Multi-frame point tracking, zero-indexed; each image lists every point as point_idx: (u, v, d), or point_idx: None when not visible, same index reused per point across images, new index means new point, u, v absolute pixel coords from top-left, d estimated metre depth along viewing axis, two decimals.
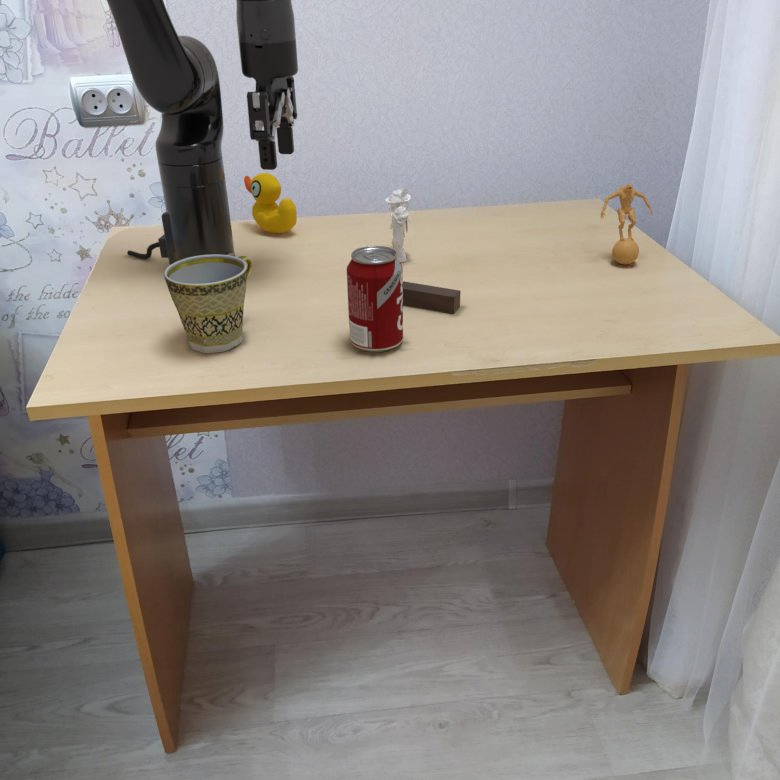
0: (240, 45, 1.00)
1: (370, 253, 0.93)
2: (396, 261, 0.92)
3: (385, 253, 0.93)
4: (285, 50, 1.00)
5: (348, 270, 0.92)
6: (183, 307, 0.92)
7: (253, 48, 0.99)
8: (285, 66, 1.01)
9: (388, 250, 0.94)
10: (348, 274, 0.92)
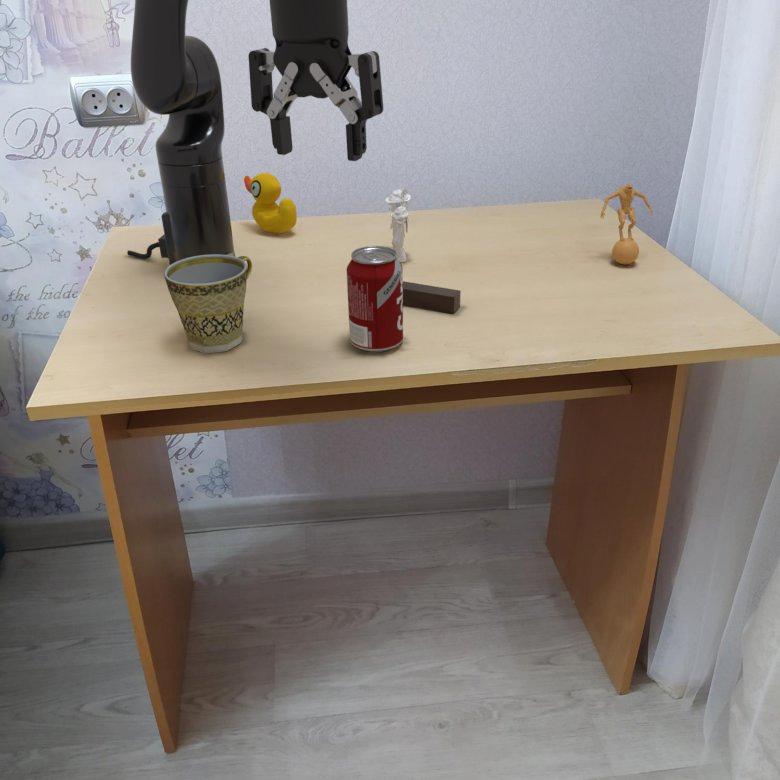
0: None
1: (370, 253, 0.93)
2: (396, 261, 0.92)
3: (385, 253, 0.93)
4: None
5: (348, 270, 0.92)
6: (183, 307, 0.92)
7: None
8: None
9: (388, 250, 0.94)
10: (348, 274, 0.92)
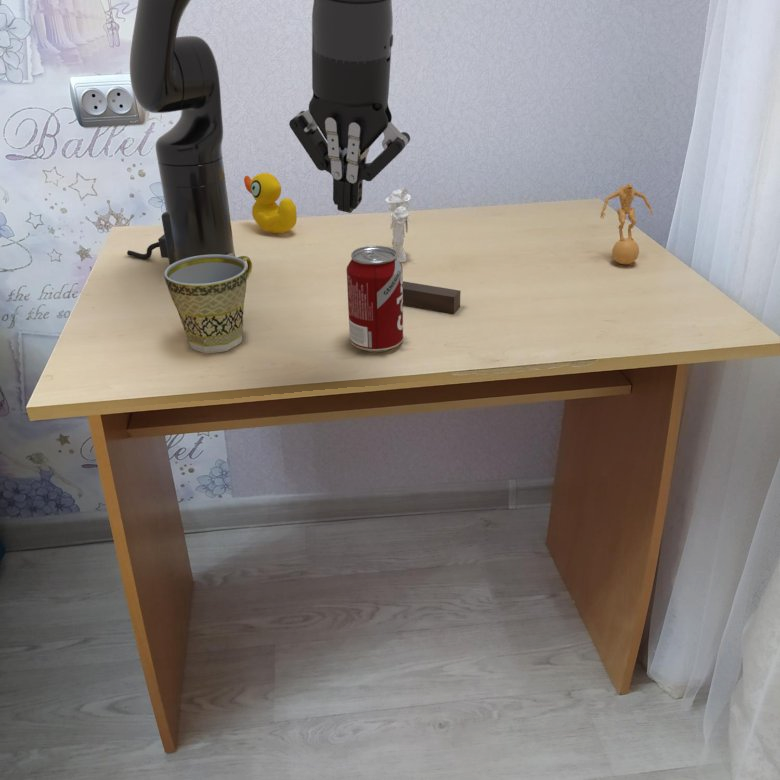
0: (361, 66, 0.71)
1: (370, 253, 0.93)
2: (396, 261, 0.92)
3: (385, 253, 0.93)
4: None
5: (348, 270, 0.92)
6: (183, 307, 0.92)
7: (384, 63, 0.72)
8: None
9: (388, 250, 0.94)
10: (348, 274, 0.92)
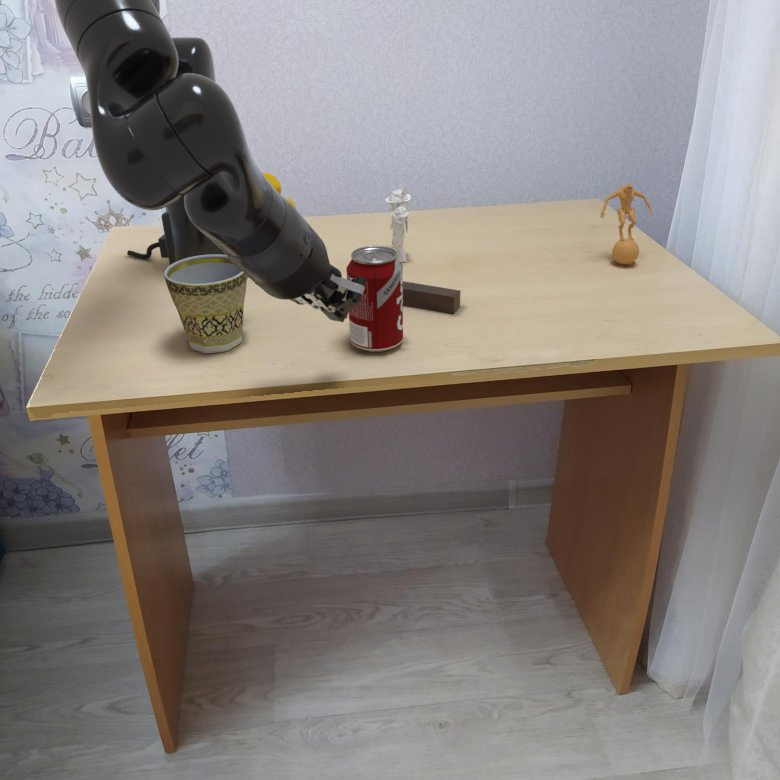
0: (286, 280, 0.70)
1: (370, 253, 0.93)
2: (396, 261, 0.92)
3: (385, 253, 0.93)
4: None
5: (348, 270, 0.92)
6: (183, 307, 0.92)
7: (308, 261, 0.71)
8: None
9: (388, 250, 0.94)
10: (348, 274, 0.92)
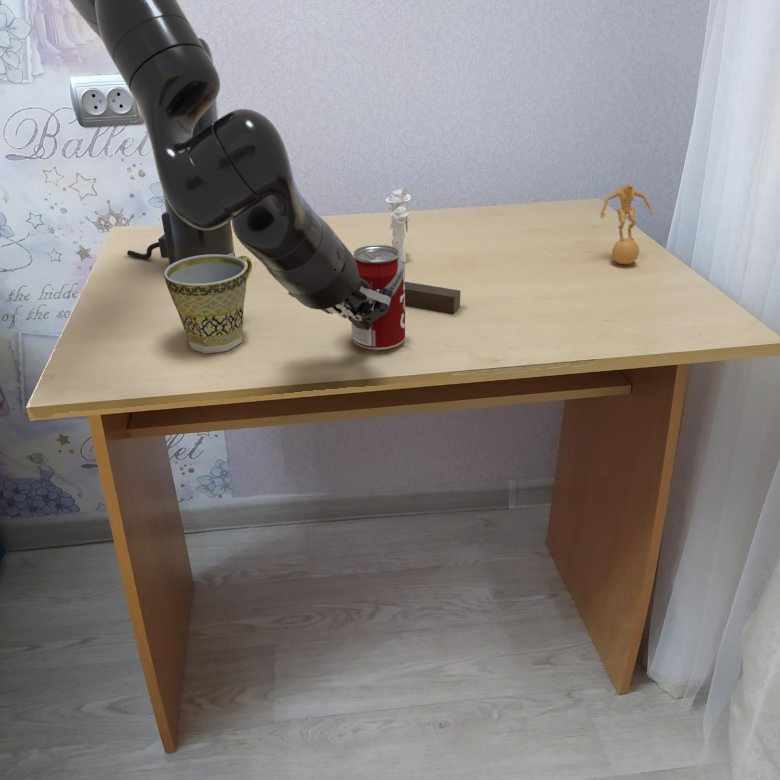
0: (321, 292, 0.77)
1: (372, 252, 0.94)
2: (399, 259, 0.92)
3: (387, 251, 0.93)
4: (341, 241, 0.79)
5: None
6: (183, 307, 0.92)
7: (341, 275, 0.77)
8: None
9: (389, 249, 0.94)
10: None
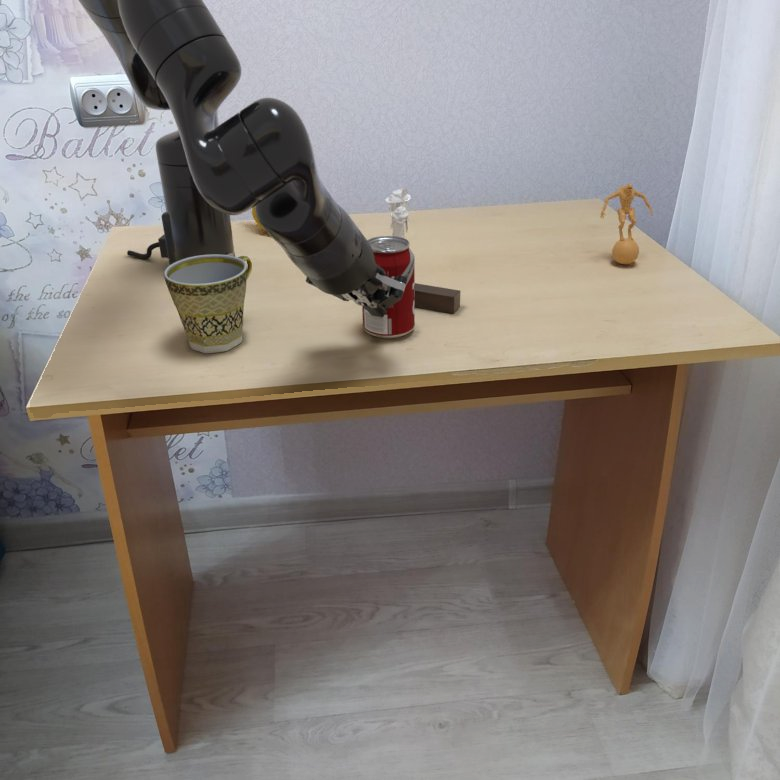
0: (339, 278, 0.80)
1: (380, 243, 0.96)
2: (409, 248, 0.95)
3: (395, 241, 0.96)
4: None
5: None
6: (183, 307, 0.92)
7: (358, 261, 0.80)
8: (365, 238, 0.83)
9: (396, 239, 0.97)
10: None
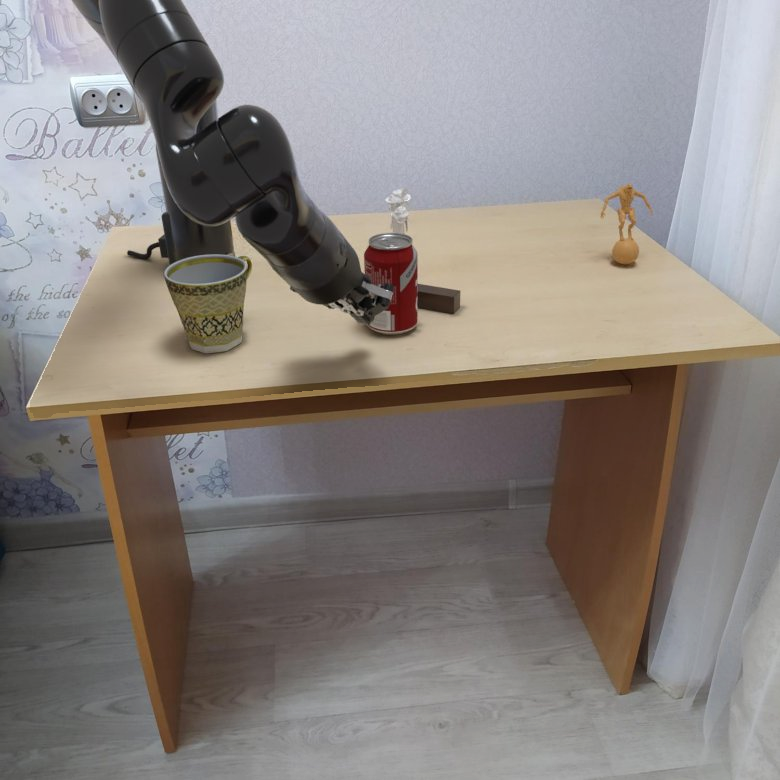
0: (323, 287, 0.77)
1: (384, 240, 0.97)
2: (412, 245, 0.96)
3: (398, 238, 0.97)
4: (343, 236, 0.79)
5: (369, 258, 0.95)
6: (183, 307, 0.92)
7: (343, 270, 0.77)
8: None
9: (400, 236, 0.98)
10: (369, 262, 0.95)
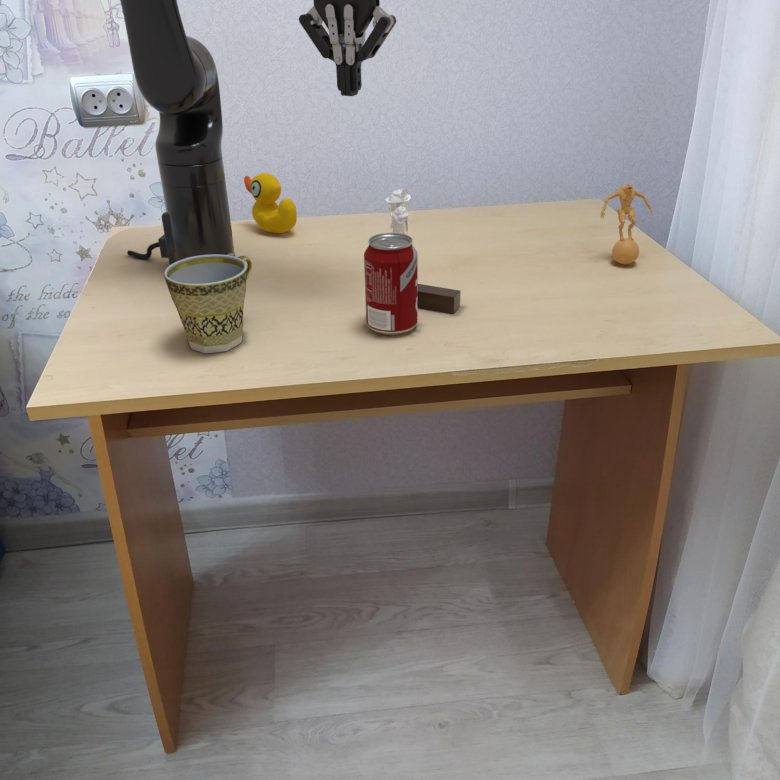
0: None
1: (384, 240, 0.97)
2: (412, 245, 0.96)
3: (398, 238, 0.97)
4: None
5: (369, 258, 0.95)
6: (183, 307, 0.92)
7: None
8: None
9: (399, 236, 0.98)
10: (369, 262, 0.95)
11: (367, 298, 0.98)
